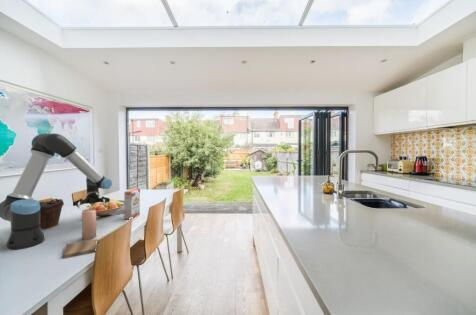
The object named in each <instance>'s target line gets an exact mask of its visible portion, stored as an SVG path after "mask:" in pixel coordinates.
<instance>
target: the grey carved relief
mask: <svg viewBox="0 0 476 315" xmlns="http://www.w3.org/2000/svg"><path fill="white" fill-rule="evenodd" d="M117 215H124V206H123V207H122V208H121V209H120V210H119V211H117V212H116V213H114V214H111V215H110V216H117Z"/></svg>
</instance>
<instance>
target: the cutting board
mask: <svg viewBox="0 0 476 315" xmlns="http://www.w3.org/2000/svg"><path fill="white" fill-rule="evenodd" d="M96 241H97V242H98V238H94V239H90V240H83V241H78V242H71V243H67V244H65V247H64V249H63V253H62V259H66V258H71V257H76V256H82V255H87V254H91V253H96V252H95V249H96Z"/></svg>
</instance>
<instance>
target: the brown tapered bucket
mask: <svg viewBox="0 0 476 315" xmlns="http://www.w3.org/2000/svg"><path fill="white" fill-rule="evenodd" d="M39 203H40V227H41V230H43V229H49V228H53V227H56V226H57V225H59V222H60V216H61V214H62V209H63V206H64V205H65V203H64V200H63V199H62V198H59V199H58V198H54V199H52V200H49V201H39Z"/></svg>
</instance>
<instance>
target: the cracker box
mask: <svg viewBox="0 0 476 315" xmlns="http://www.w3.org/2000/svg"><path fill="white" fill-rule="evenodd" d="M123 196H124V200H123V201H124V204H123V205H124V214H123V218H124V220H130V219H129V218H130V217H133V219H134V218H136V217H137V216H139V215H140V213H141V212H140V210H141V209H140V208H141V188H132V189H129V190H126V191H124V195H123Z"/></svg>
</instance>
